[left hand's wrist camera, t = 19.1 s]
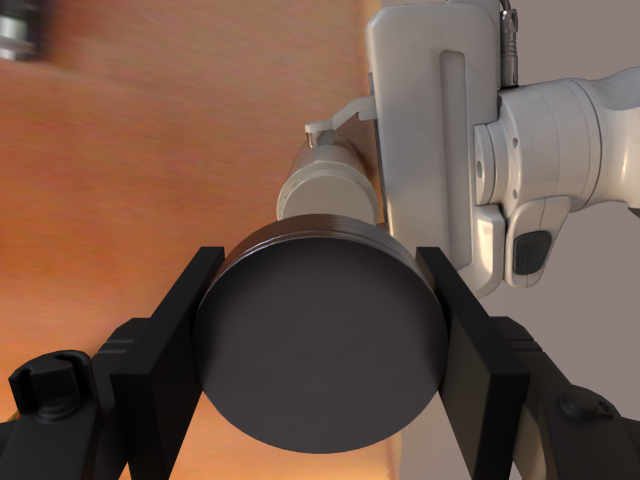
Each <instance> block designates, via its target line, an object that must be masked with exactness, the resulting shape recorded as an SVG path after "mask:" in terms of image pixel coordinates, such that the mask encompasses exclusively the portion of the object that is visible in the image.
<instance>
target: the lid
mask: <svg viewBox="0 0 640 480" xmlns="http://www.w3.org/2000/svg"><path fill="white" fill-rule="evenodd" d="M191 344H192V353H193V361H194V368H195V372H196V376H197V379H198V381H199V383H200V385H201V387H202V390H203V391H204V393H205V395H206V396H207V398H208V399H209V401H210V402H211V404H212V405H213V406H214V407H215V408H216V409H217V411H218V412H219V413H220V414H221V415H222V416H223V417H224V418H225V419H226V420H228V421H229V422H230V423H231V424H232V425H234V426H235V427H236V428H238V429H239V430H241V431H242V432H244V433H245V434H247V435H249V436H251V437H252V438H254V439H256V440H259V441H261V442H263V443H266V444H268V445H271V446H274V447H277V448H281V449H284V450H289V451H294V452H301V453H311V454H330V453H339V452H346V451H351V450H356V449H360V448H363V447H366V446H369V445H372V444H375V443H377V442H379V441H382V440H384V439H386V438H388V437H390V436H391V435H393V434H395V433H397V432H398V431H400V430H401V429H403V428H404V427H405V426H407V425H408V424H409V423H411V422H412V421H413V420H414V419H415V418H416V417H417V416H418V415H419V414H420V413H421V412H422V411H423V410H424V409H425V407H426V406H427V405H428V404H429V403H430V401H431V400H432V398H433V396H434V395H435V393H436V392H437V390H438V388H439V386H440V383H441V381H442V379H443V377H444V373H445V369H446V364H447V357H448V349H449V333H448V328H447V323H446V319H445V316H444V313H443V310H442V308H441V305H440V303H439V301H438V299H437V298H436V296H435V294H434V292H433V290H432V288H431V286H430V284H429V283H428V281H427V279H426V277H425V275H424V273H423V271H422V270H421V268H420V266H419V264H418V263H417V261H416V260H415V259H414V257H413V256H412V255H411V253H410V252H409V251H408V250H407V249H406V248H405V247H404V246H403V245H402V244H401V243H400V242H399V241H397V240H396V239H395V238H393V237H392V236H391V235H389V234H388V233H387V232H385V231H383V230H381V229H379V228H378V227H376V226H374V225H372V224H369V223H367V222H364V221H361V220H359V219H355V218H351V217H347V216H343V215H334V214H305V215H298V216H293V217H289V218H285V219H281V220H278V221H276V222H273V223H271V224H269V225H266V226H264V227H262V228H261V229H259V230H257V231H255V232H254V233H252V234H251V235H249V236H248V237H247V238H245V239H244V240H243V241H241V242H240V243H239V244H238V245H237V246H236V247H235V248H234V249H233V250H232V251H231V252H230V253H229V255H228V256H227V258H226V259H225V260H224V262H223V263H222V264H221V266H220V268H219V270H218V272H217V273H216V275H215V277H214V279H213V281H212V283H211V285H210V286H209V288H208V290H207V292H206V294H205V296H204V297H203V299H202V301H201V303H200V305H199V307H198V310H197V313H196V316H195V319H194V323H193V328H192V334H191Z"/></svg>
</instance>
